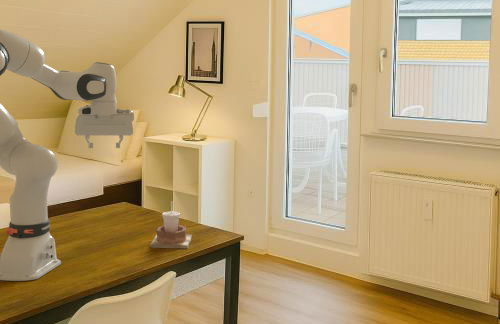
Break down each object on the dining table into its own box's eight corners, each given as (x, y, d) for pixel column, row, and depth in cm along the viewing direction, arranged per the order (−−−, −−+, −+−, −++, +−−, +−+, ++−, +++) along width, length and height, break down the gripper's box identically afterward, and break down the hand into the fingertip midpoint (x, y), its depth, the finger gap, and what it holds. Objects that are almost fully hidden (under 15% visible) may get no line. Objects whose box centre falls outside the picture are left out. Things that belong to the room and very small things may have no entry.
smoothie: (183, 238, 223) (182, 200, 221) (175, 243, 217) (175, 204, 214) (166, 236, 225) (166, 198, 222) (159, 241, 219) (158, 202, 216)
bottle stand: (187, 248, 214) (187, 234, 214) (150, 247, 215) (150, 233, 214) (191, 237, 227) (191, 224, 226) (156, 236, 228) (156, 223, 227)
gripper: (133, 108, 222) (133, 146, 225) (75, 108, 218) (75, 146, 220) (134, 110, 216) (134, 149, 219) (73, 109, 212) (74, 149, 214)
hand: (104, 147), depth 219 cm, fingers open, 8 cm apart
